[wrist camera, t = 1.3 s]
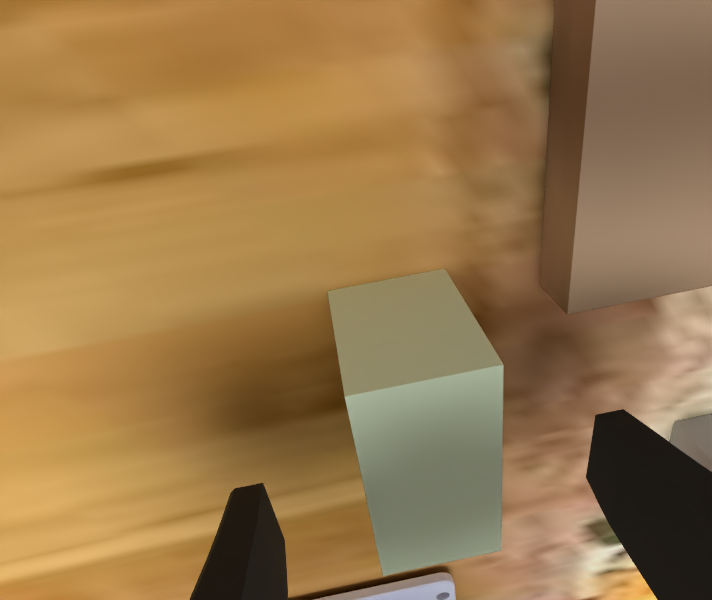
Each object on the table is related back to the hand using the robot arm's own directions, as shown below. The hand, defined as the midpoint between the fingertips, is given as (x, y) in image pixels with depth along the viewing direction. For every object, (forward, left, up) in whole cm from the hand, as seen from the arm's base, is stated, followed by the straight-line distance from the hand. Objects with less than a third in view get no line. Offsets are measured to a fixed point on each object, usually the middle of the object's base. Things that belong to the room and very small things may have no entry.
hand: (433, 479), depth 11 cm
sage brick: (0, 0, -4) cm, 4 cm away
